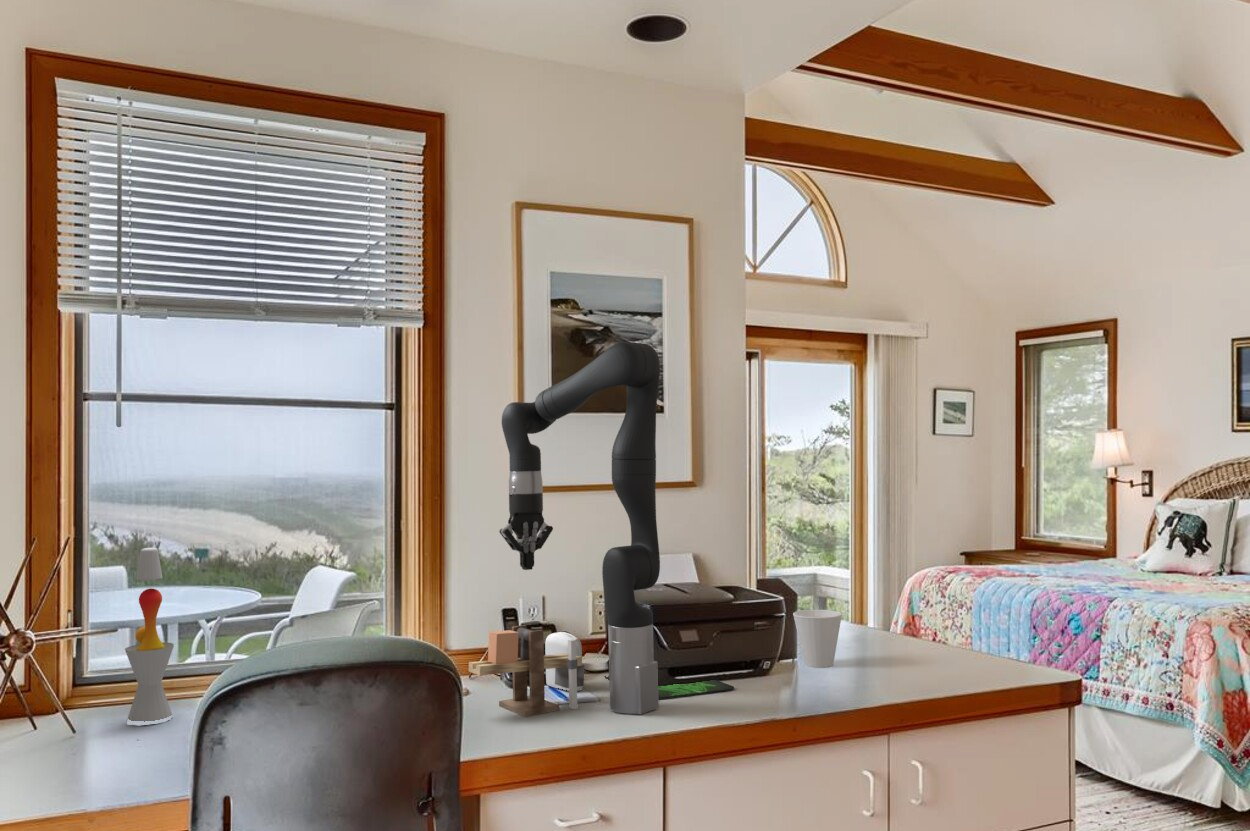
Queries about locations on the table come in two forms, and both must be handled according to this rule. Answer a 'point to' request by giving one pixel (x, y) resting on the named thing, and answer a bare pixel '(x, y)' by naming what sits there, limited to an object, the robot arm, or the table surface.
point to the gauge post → (572, 673)
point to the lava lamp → (149, 648)
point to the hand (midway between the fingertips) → (527, 569)
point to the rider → (503, 647)
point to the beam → (523, 664)
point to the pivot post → (536, 673)
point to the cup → (818, 636)
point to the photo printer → (559, 645)
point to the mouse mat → (691, 689)
